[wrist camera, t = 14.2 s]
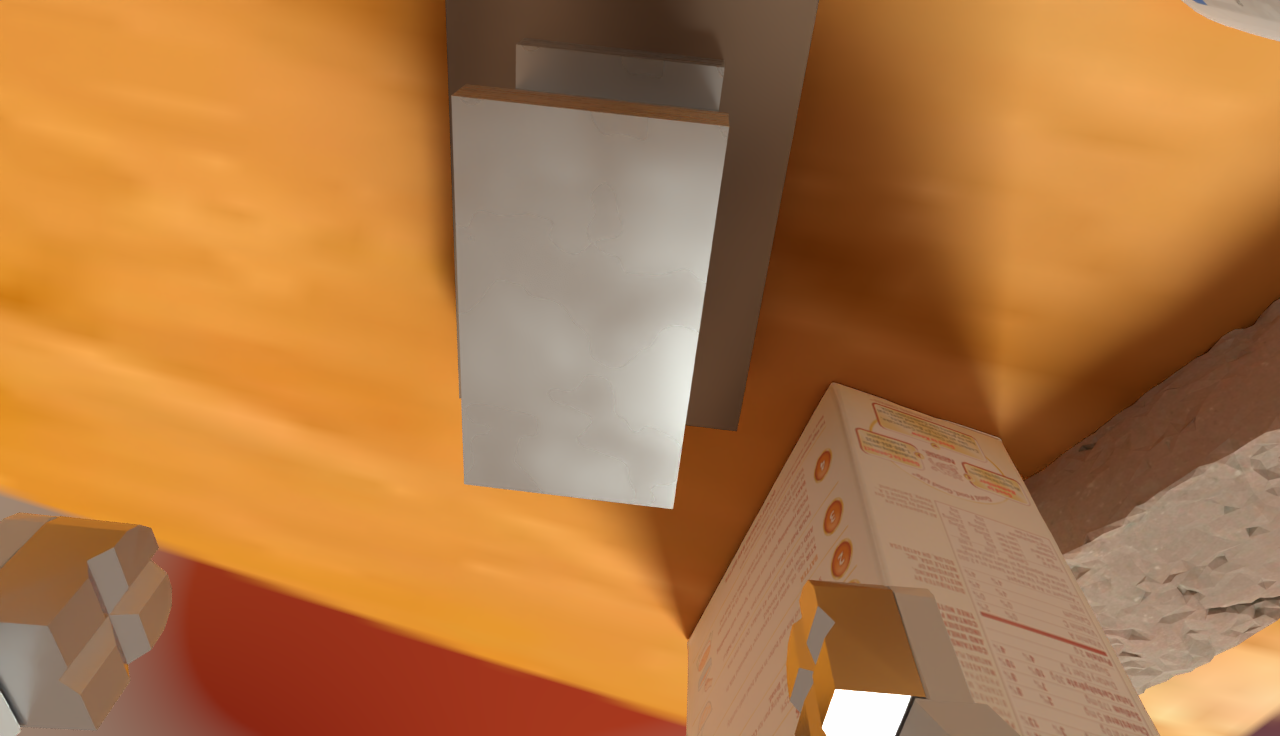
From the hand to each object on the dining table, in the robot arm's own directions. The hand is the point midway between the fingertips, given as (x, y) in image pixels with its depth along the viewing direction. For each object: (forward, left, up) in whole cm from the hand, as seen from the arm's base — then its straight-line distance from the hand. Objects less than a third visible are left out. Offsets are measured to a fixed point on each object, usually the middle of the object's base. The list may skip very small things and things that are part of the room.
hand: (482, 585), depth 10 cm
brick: (+22, -8, -17) cm, 29 cm away
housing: (0, 0, -14) cm, 14 cm away
